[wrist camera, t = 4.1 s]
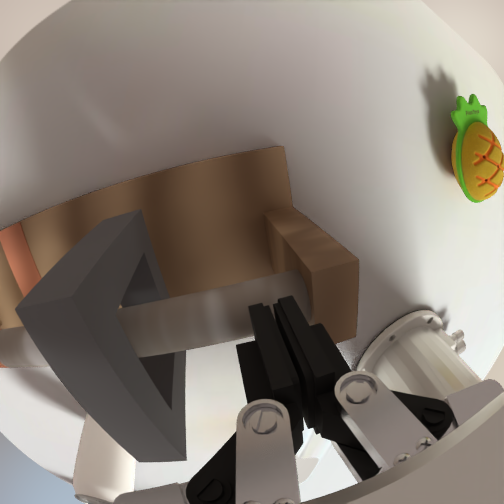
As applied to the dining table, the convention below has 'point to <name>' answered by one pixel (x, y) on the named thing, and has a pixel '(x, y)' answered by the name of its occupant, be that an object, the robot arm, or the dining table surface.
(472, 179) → the toy pineapple
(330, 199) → the dining table surface
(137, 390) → the collar
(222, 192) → the rail
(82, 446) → the can
